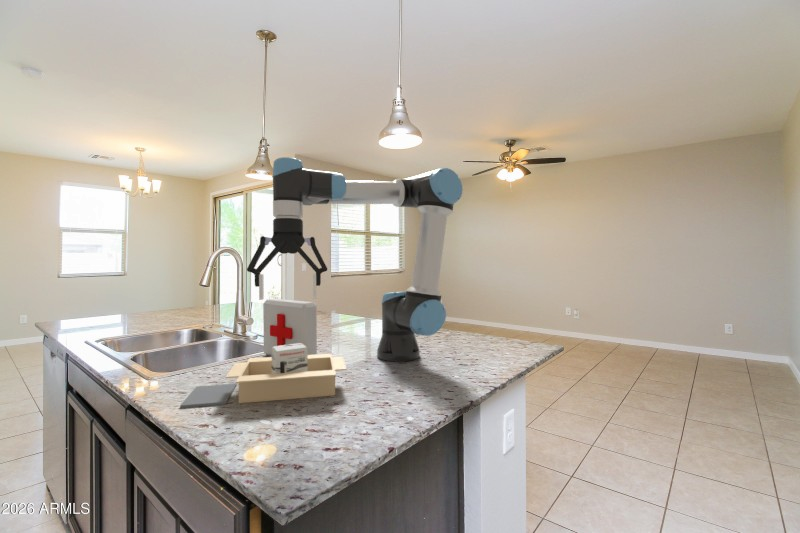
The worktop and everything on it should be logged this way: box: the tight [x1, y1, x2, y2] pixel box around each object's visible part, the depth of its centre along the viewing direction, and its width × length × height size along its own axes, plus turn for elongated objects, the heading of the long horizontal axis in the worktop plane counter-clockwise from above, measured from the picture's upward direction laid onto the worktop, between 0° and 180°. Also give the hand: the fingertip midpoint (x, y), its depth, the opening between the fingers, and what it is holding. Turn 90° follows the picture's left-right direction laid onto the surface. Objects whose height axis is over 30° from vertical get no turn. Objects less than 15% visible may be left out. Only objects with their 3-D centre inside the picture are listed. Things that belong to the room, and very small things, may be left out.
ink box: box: [271, 343, 308, 374], centre depth 100 cm, size 8×5×12 cm, turn 123°
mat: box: [179, 383, 237, 409], centre depth 96 cm, size 10×13×1 cm
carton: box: [225, 353, 347, 404], centre depth 101 cm, size 29×20×6 cm
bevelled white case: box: [262, 298, 318, 357], centre depth 131 cm, size 21×8×20 cm, turn 58°
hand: (288, 298), depth 100 cm, fingers open, 13 cm apart
